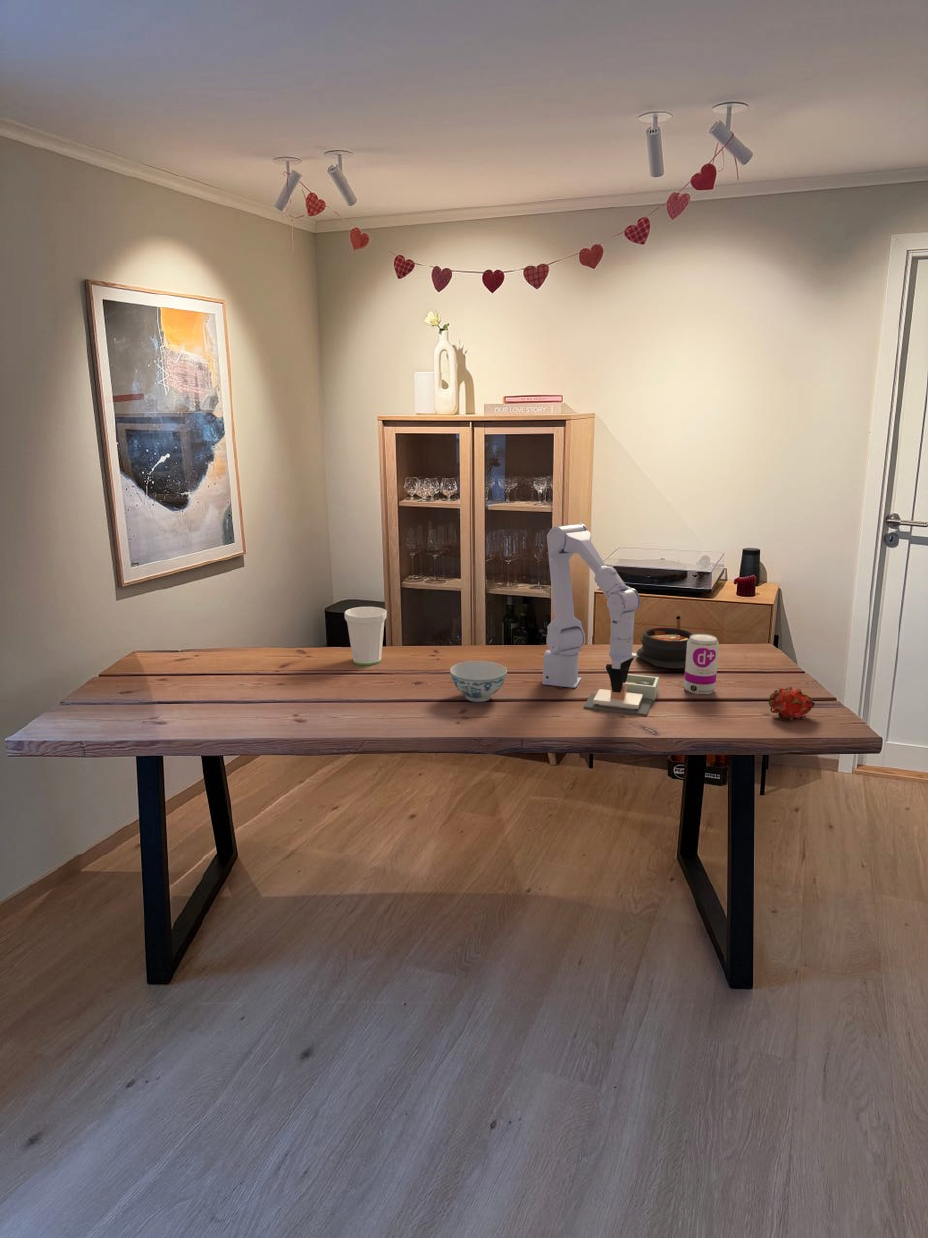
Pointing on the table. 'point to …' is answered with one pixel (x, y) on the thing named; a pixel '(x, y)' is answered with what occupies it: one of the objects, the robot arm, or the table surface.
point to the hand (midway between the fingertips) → (619, 687)
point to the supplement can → (701, 664)
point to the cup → (366, 633)
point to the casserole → (665, 647)
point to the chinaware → (478, 679)
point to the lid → (618, 698)
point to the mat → (641, 710)
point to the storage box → (642, 686)
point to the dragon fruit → (790, 703)
